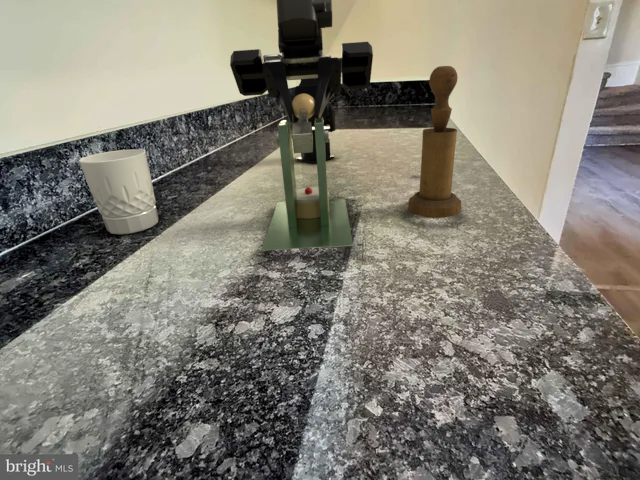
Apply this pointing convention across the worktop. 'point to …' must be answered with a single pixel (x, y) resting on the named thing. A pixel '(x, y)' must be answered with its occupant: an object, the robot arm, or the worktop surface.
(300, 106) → the lever
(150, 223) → the white cup
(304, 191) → the cake
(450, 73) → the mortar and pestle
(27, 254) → the worktop surface
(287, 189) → the slicer bracket
